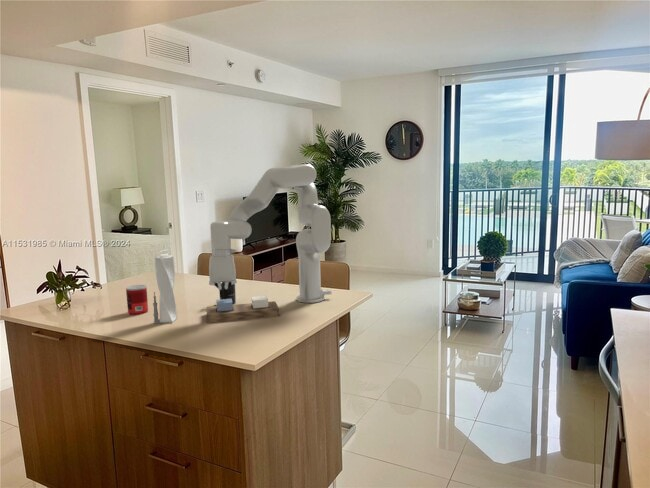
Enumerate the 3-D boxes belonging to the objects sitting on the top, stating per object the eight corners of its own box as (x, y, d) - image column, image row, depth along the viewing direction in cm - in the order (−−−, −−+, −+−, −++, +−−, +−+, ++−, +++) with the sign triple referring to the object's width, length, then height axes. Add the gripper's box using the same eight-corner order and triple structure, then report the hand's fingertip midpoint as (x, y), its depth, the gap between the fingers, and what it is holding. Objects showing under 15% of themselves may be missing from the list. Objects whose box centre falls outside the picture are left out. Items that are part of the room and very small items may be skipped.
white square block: (266, 303, 197) (266, 295, 197) (268, 307, 191) (268, 299, 191) (251, 304, 196) (251, 297, 195) (253, 308, 190) (252, 300, 189)
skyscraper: (161, 318, 192) (156, 249, 188) (181, 317, 192) (176, 248, 188) (153, 324, 183) (148, 252, 179) (174, 324, 183) (169, 252, 179)
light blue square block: (232, 306, 194) (231, 298, 193) (232, 310, 188) (232, 302, 188) (216, 307, 192) (216, 299, 192) (217, 311, 187) (216, 303, 186)
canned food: (152, 310, 202) (150, 285, 201) (139, 315, 195) (137, 289, 193) (137, 309, 205) (135, 284, 203) (124, 314, 197) (121, 288, 196)
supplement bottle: (232, 306, 206) (230, 278, 205) (217, 305, 208) (216, 278, 206) (238, 301, 213) (237, 275, 211) (224, 301, 214) (222, 275, 213)
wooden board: (275, 308, 201) (275, 301, 201) (279, 316, 190) (279, 308, 189) (207, 314, 195) (206, 307, 194) (207, 322, 183) (206, 315, 183)
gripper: (240, 250, 192) (242, 295, 195) (201, 252, 189) (204, 297, 191) (241, 253, 185) (243, 299, 188) (201, 255, 182) (204, 302, 184)
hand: (223, 298), depth 189 cm, fingers closed
